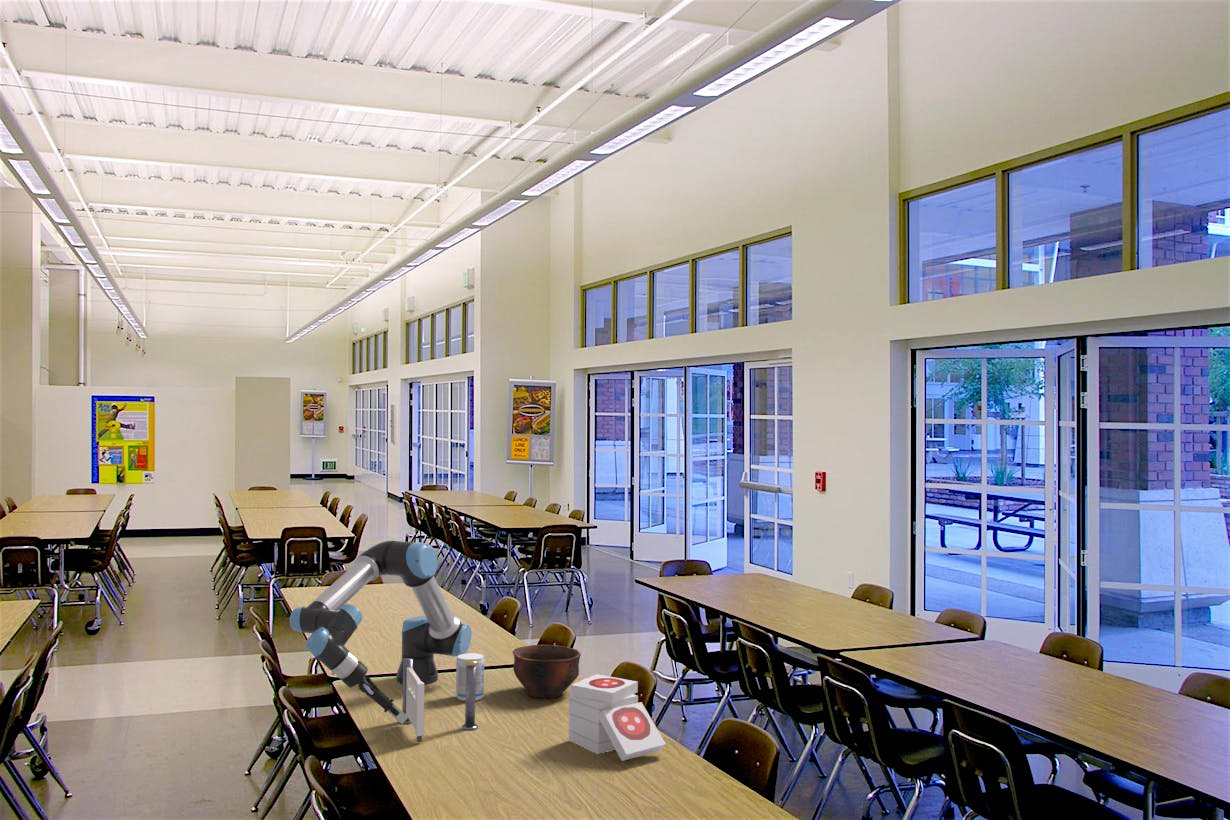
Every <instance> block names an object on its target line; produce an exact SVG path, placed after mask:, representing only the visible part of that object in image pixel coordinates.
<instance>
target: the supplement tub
mask: <svg viewBox="0 0 1230 820" xmlns="http://www.w3.org/2000/svg"><path fill="white" fill-rule="evenodd" d="M466 660H477V661H478V664H477V665H476V685H475V702H477V701H480V700H482V699H483V698H484V695H485V688H484V687H485V678H484V677H485V657H484V654H481V653H477V652H475V653H474V652H473V653H472V652H469V653H467V652H466V653H465V654H461V655H458V656H456V665H455V666H456V669H455V670H456V675H455V676H456V678H455V682H456V683H455V688H456V690H455V691H456V692H455V696H456V699H457V700H459V701H462V702H466V665H465V661H466Z"/></svg>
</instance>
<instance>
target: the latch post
mask: <svg viewBox="0 0 1230 820" xmlns="http://www.w3.org/2000/svg"><path fill="white" fill-rule="evenodd" d="M477 664H478V661H477V660H466V661H465V665H466V701H465V706H464V707H465V708H464V709H465V710H464V711H465V713H464V716H465V718H464V719H465V720H464V724H462V725H461V729H462V730H464V731H476V730H477V729H478V728H479V726H478V723H477V724H476V722H475V721H476V701H475V685H476V665H477Z"/></svg>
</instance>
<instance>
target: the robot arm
mask: <svg viewBox="0 0 1230 820" xmlns="http://www.w3.org/2000/svg"><path fill="white" fill-rule="evenodd" d="M437 560H438V554H437V551H436V550H435V549H434V547H433V546H432V545H430V544H429V543H424V542H419V541H416V542H414V541H398V540H386V541H382V542H380V543H377V544H375V545H373V546H371V547H369V548H368V549H366V550H365V551H364V552H362V553H361V554H359V556H357V557H356V558H355V560H354V562H353V565H352V566H351V567H350V568H348V570H347V571H345V572H344V573H343V574H342V575H340V577H338V578H337V579H336V580H335V581H334V582H333V583H332V584H331V585H330V586H329V587H328V588H326V589H325V590H324V591H323V592H322V593H321V594H320V595H319V596H317V598H315V599H314V600H313V601H312V602H311V603H310V604H309V605H308V606H306V607H305V606H301V607H300V606H298V607H295V608H294V609H293V610H292V611H291V613H290V617H289V625H290V628H291V629H292V630H293V631H295V632H299V633H302V634H311V635H309V637H308V638H307V639H306V642H305V647H306V649H307V650H308V651H309V652H310V653H311V655H312V656H313V657H314V658H316V659H317V660H318V661H319V662H320V663H322V664H323V665H324V666H325V667H326V668H327V669H329V670H330V672H331V675H332V676H336V677H337V678H338V679H341V681H342V683H344V684H345V685H346V686H347V688H350V689H352V688H354V687H355V686H356V685H357V686H358V689H359V690H360V691H361V692H362V693H365V695H366V696H367V697H369V698H371V699H372V700H373V701H374V702H375V703H377V705H379V706H380V707H381V708H382V709H384V710H383V712H384V713H385V714H386V713H389V714H390V715H391V716H392V717H393V718H394V719H395V720H396V721H398V723H399V722H400V723H401V724H400V723H399V724H400V725H404V724H403V723H404V722H405V721H406V720H407V718H408V716H407V715H406V714H405V713H404V712H402V709H401V708H400V707H398V706H397V705H396V704H395V703H394V699H393V698H391V699H390V697H388V696H387V695H386V694H385V693H384V692H383V691H382V690H381V689H380V688H379V687H378V686H377V684H375V682H374V681H373V680H372V679H371V678H370V677H369V676H366V675H367V673H368V667H367V666H366V665H365V664H364V663H363V662H362V661H361V660H359V658H357V657H356V656H355V654H353V653H352V652H351V651H350V650H349V649H348V648H346V647H347V646H345V645H346V643H347V642H348V641H349V640H350V638H351V636H352V635H353V633H355V631H356V630H357V629H358V627H359V625H360V623H361V622H362V620H363V614H362V611H361V610H360V609H359V608H358V607H357V606H356V605H353V604H350V603H348V602H349V601H350V600H351V599H352V598H353V597H354V596H355V595H356V594H358V592H359V591H360V590H362V589H363V588H364V586H367V584H368V583H369V582H374V581H375V580H377V579H378V578H379V577H380V576H386V575H388V576H389V575H390V576H396V577H397V576H398V577H400V578H401V580H402V582H403V583H404V586H406V587H409V588H411V590H412V593H413V594H414V595H415V598H416V599H417V602H418V604H419V606H420V607H421V609H422V612H423V614H424V615H422V616H421V615H420V616H414V617H409V618H407V619H405V620H404V621H403V623H402V629H401V660H400V663H399V665H398V666H399V667H398V669H397V672H396V680H397V681H398V682H397V681H396V680H395V681H396V682H397V683H399V682H400V684H402V683H403V659H405V658H412V659H413V670H414V672H415V673H416V675H417V676H418V677H419V679H420V680H421V682H424V685H427V683H428V684H431V683H434V682H436V681H438V680H439V671H438V669H437V665H436V662H435V659H434V655H439V656H440V655H441V656H448V657H457V656H458V655H461V654H466V653H467V652H468V650H469V648H470V645H471V642H472V634H473V633H472V631H473V630H472V628H471V626H470V625H469V624H467V623H461V621H460V618H459V617H458V616H457V615H456V614H455V613H452V611H451V609H450V607H449V604H448V602H447V601H446V599H445V596H444V594H443V593H442V590H441V588H440V585H439V583H438V582H437V579H436V578H435V575H436V571H437V570H438V566H439V565H438V561H437Z"/></svg>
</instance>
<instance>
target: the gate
mask: <svg viewBox="0 0 1230 820" xmlns="http://www.w3.org/2000/svg"><path fill="white" fill-rule="evenodd" d="M424 713H425V684H424V682H421V680H420V679H419V677H418V676H417V675H416V673H415V672H414V670H413V668H412V667H409V668H407V686H406V715H407V716H408V718H409V720H410V722H411V723H412V724H411V725H412V726H413V728H414V730H415V736H416V742H417V743H420V742H423V741H422V740H423V736H424V726H425V724H424V720H425V719H424V717H425V714H424Z"/></svg>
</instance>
